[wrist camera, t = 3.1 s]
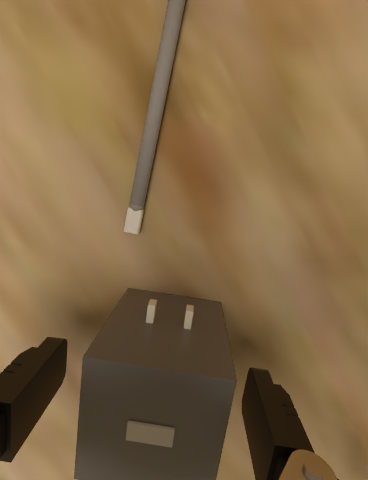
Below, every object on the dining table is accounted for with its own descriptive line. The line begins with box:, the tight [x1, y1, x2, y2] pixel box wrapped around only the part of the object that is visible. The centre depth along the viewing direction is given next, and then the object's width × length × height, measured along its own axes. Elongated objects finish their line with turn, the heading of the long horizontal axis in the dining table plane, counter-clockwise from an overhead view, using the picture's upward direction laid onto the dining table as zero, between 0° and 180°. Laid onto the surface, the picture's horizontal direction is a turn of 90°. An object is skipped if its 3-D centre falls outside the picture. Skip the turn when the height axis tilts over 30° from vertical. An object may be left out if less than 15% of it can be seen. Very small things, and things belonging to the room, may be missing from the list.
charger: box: [74, 288, 237, 480], centre depth 12 cm, size 5×6×6 cm
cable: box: [124, 0, 186, 235], centre depth 12 cm, size 13×1×1 cm, turn 167°
